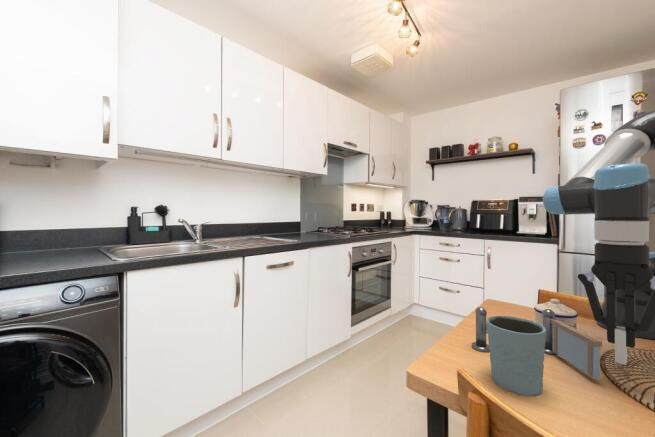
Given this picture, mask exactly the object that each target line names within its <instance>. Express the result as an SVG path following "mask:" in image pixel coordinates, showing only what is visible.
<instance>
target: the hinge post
mask: <svg viewBox="0 0 655 437" xmlns="http://www.w3.org/2000/svg"><path fill="white" fill-rule="evenodd" d="M542 315H543V327H544V328H545V329H546V340H545V354H547V355H549V356H550V355H551V356H559V355H558V354H556V353H554V352H553V324H551V319H552V320H555V313H554V312H553V311H552V310H550V309H545V310H543V311H542Z"/></svg>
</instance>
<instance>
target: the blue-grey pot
mask: <svg viewBox="0 0 655 437" xmlns="http://www.w3.org/2000/svg"><path fill="white" fill-rule="evenodd" d="M486 323H487V329H488V334H487V337H488V341H487V342H488V345H489V350H490V352H489V361H490V368H491V369H490V371H491V380H492V381H493V382H494V383H495V384H496V385H497V386H499V387H500V388H502V389H504V390H506V391H508V392H511V393H513V394H517V395H521V396H527V397H536V396H539V395H541V394H542V393H543V388H544V384H543V382H544V380H543V379H544V370H545V369H544V368H545V367H544V362H545V354H546V353H545V340H546V329H545V328H544V327H543V326H542V325H540V324H538V323H536V322H535V321H533V320H530V319H527V318H523V317H522V318H521V317H516V316H509V315H494V316H490V317H487V318H486Z"/></svg>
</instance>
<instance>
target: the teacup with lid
mask: <svg viewBox="0 0 655 437" xmlns="http://www.w3.org/2000/svg"><path fill="white" fill-rule="evenodd" d="M533 309H534V318H535V319H534V322H536V323H538V324H540V325H542V326H543V315H542V311H543V310H545V309H550V310H552V311H553V312H554V313H555V320H559V321H561V322H563V323H565V324H567V325H569V326H571V327H573V328H575V329H577V330H578V327H577V326H578V324H577V323H578V322H577V319H578V316H579V315H578V312H577V311H576V310H575V309H573V308H571V307H568V306H567V305H565V304H563V303H561V300H559V299H558V298H550V300H549V301H547V302H544V303H537V304H536V305H534V308H533Z"/></svg>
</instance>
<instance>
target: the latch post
mask: <svg viewBox="0 0 655 437" xmlns="http://www.w3.org/2000/svg"><path fill="white" fill-rule="evenodd" d="M474 312H475V341H474V342H471V348H472V349H474V350H475V351H478V352H480V353H490V350H489V343H487V335H488V329H487V315H488V313H487V310H486V308H484V307H482V306H478V307H477V308H476V309H475V311H474Z"/></svg>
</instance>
